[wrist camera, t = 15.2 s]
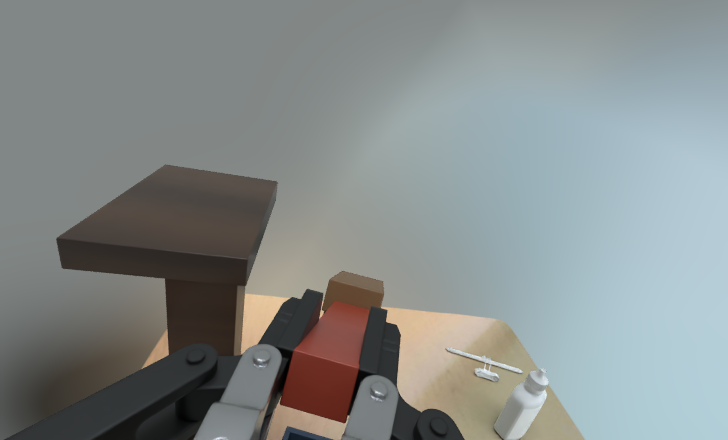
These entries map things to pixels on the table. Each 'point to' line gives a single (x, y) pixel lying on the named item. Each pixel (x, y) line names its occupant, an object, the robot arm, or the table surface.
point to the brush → (332, 349)
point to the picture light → (485, 372)
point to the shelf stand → (182, 247)
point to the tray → (301, 435)
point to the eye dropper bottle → (522, 406)
